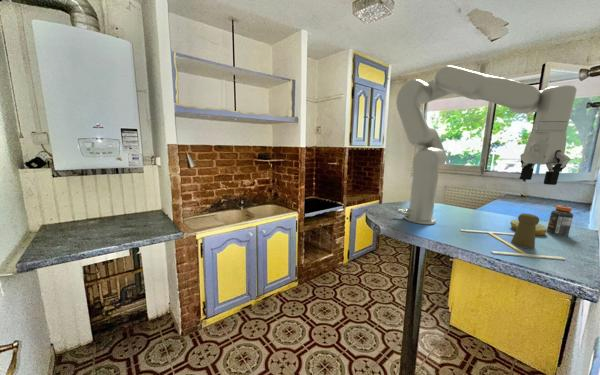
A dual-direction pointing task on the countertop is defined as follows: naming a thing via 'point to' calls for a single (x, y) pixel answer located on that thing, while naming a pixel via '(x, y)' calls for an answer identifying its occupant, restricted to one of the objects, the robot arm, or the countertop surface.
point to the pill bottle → (560, 221)
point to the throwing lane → (512, 246)
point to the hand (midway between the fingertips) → (536, 181)
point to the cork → (525, 231)
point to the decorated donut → (539, 229)
